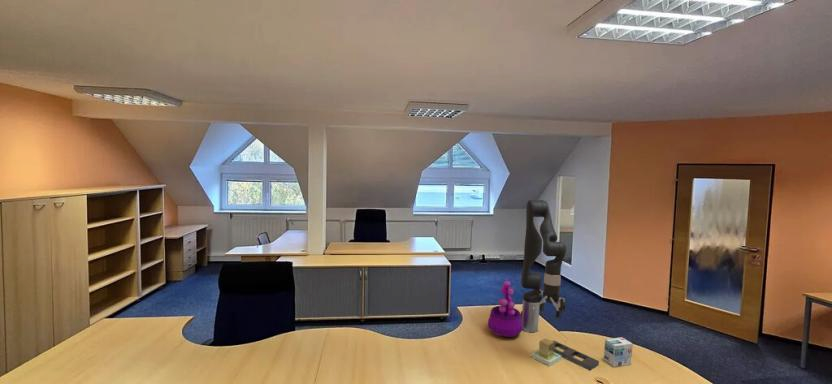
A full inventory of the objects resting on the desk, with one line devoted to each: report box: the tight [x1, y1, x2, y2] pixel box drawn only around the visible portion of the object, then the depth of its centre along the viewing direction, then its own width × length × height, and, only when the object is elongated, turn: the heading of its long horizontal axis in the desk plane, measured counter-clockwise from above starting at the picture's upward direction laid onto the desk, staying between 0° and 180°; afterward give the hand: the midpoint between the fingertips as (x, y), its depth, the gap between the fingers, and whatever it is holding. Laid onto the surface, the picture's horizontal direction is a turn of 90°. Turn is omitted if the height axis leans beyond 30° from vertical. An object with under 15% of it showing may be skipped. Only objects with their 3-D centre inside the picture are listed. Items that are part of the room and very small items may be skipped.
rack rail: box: [552, 340, 600, 371], centre depth 184 cm, size 24×8×2 cm, turn 37°
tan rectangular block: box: [538, 337, 555, 361], centre depth 181 cm, size 5×5×8 cm
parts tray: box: [530, 348, 562, 367], centre depth 181 cm, size 10×10×2 cm
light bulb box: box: [603, 336, 634, 368], centre depth 179 cm, size 11×7×11 cm, turn 105°
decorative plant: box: [487, 280, 523, 338], centre depth 205 cm, size 19×18×30 cm
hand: (549, 314), depth 180 cm, fingers open, 8 cm apart
